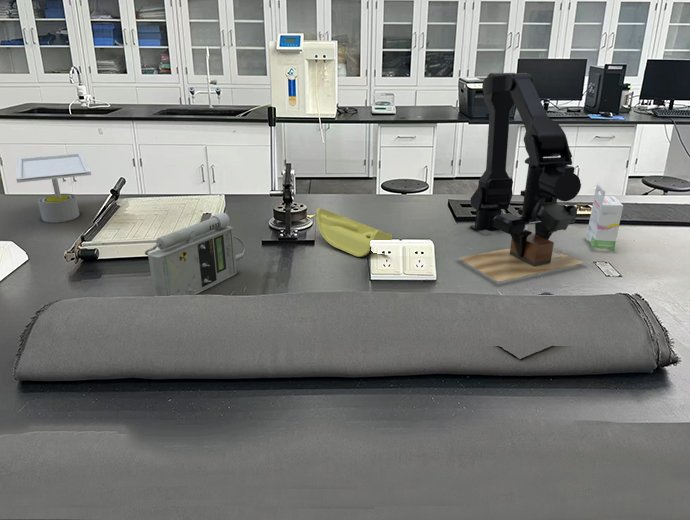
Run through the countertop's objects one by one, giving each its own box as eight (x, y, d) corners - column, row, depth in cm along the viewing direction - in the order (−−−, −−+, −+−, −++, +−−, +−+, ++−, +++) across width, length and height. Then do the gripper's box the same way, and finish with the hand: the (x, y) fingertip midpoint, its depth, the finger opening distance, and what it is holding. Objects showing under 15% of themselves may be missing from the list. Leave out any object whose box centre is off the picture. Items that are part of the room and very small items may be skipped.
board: (457, 261, 122) (458, 257, 121) (538, 246, 131) (539, 242, 131) (497, 285, 110) (498, 281, 110) (583, 266, 119) (584, 262, 119)
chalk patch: (529, 253, 124) (529, 251, 124) (546, 250, 126) (546, 248, 126) (545, 260, 120) (545, 259, 120) (562, 257, 122) (562, 255, 122)
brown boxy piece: (509, 254, 123) (512, 233, 121) (525, 251, 125) (528, 231, 123) (533, 266, 117) (537, 245, 115) (550, 263, 118) (554, 242, 117)
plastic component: (396, 236, 130) (374, 229, 122) (385, 265, 131) (363, 259, 123) (337, 214, 142) (313, 206, 134) (327, 240, 142) (304, 233, 134)
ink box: (614, 252, 127) (627, 192, 121) (592, 251, 128) (604, 191, 122) (606, 240, 135) (617, 183, 129) (585, 239, 136) (595, 182, 130)
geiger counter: (159, 242, 94) (252, 207, 114) (135, 235, 97) (230, 202, 117) (168, 311, 100) (256, 266, 119) (146, 303, 103) (235, 260, 122)
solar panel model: (100, 225, 145) (90, 171, 139) (28, 235, 137) (15, 179, 132) (91, 200, 167) (82, 152, 162) (29, 207, 160) (17, 158, 154)
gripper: (531, 203, 104) (521, 275, 110) (601, 192, 111) (587, 261, 118) (495, 189, 114) (487, 256, 120) (561, 180, 121) (550, 244, 127)
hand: (529, 255), depth 121 cm, fingers closed on brown boxy piece, 5 cm apart
